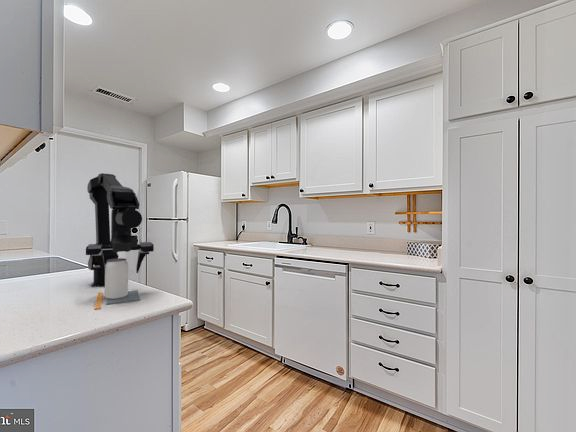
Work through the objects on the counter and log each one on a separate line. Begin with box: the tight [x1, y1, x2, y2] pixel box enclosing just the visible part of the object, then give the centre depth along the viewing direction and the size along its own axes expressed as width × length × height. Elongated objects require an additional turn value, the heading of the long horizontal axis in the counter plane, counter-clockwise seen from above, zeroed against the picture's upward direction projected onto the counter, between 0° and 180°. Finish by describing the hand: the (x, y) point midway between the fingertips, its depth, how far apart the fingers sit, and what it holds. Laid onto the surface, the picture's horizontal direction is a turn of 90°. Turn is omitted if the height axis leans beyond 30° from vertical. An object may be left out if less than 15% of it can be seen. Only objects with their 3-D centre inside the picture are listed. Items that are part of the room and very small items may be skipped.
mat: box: [105, 289, 141, 306], centre depth 92 cm, size 12×9×1 cm
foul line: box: [93, 291, 104, 311], centre depth 89 cm, size 18×2×1 cm, turn 31°
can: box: [104, 257, 129, 300], centre depth 92 cm, size 6×6×12 cm
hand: (121, 274), depth 93 cm, fingers open, 9 cm apart
